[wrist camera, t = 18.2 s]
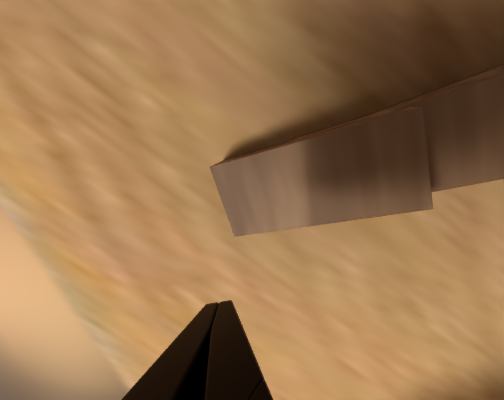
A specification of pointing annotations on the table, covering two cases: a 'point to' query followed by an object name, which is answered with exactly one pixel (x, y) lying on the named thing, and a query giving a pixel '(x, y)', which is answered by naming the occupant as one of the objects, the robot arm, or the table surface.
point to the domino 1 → (330, 176)
